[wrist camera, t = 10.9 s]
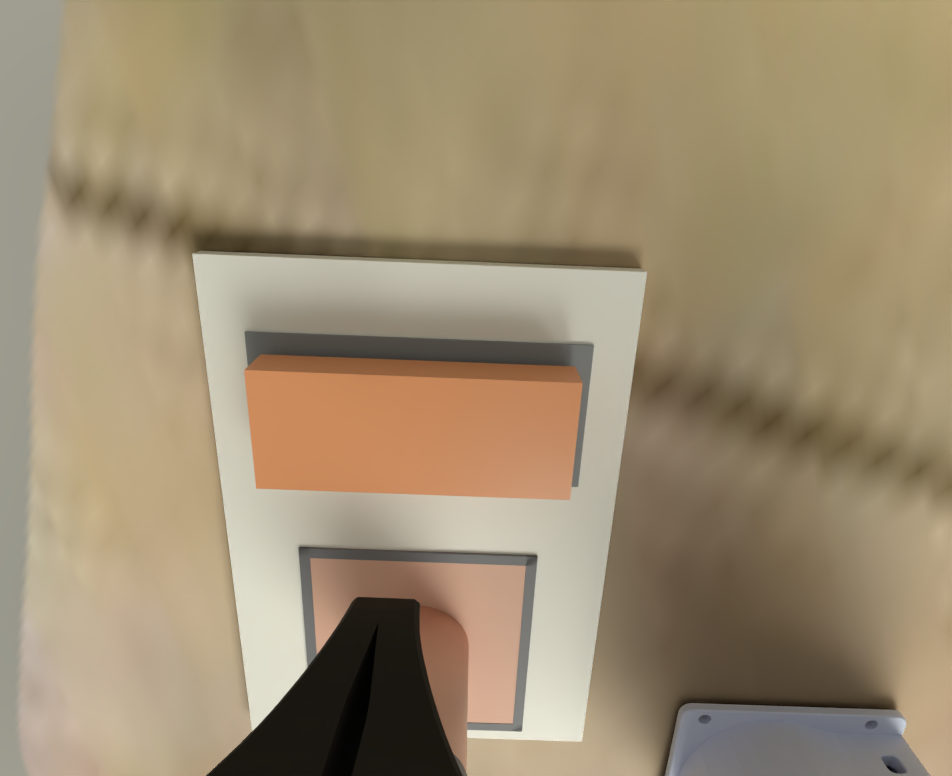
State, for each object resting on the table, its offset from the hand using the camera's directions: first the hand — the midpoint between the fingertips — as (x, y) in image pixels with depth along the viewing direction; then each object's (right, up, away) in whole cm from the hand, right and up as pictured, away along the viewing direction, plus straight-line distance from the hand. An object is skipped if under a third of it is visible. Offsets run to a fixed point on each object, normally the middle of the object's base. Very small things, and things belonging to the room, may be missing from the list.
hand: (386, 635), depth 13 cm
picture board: (0, 0, +10) cm, 10 cm away
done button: (0, +4, +7) cm, 8 cm away
